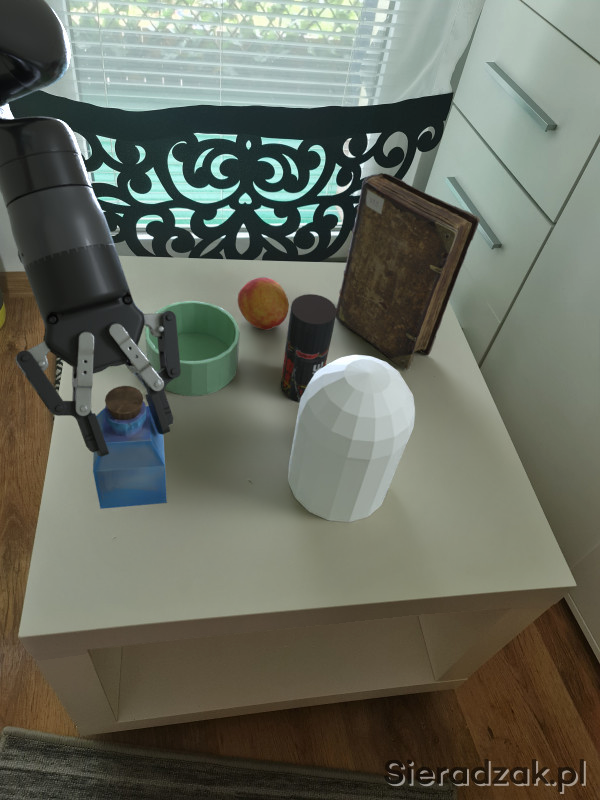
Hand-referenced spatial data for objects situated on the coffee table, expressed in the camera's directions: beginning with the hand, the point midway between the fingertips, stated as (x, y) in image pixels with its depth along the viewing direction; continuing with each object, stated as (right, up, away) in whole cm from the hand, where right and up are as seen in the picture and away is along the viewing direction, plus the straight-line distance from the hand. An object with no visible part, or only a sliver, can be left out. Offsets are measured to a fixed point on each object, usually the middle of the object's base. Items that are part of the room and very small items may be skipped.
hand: (134, 442), depth 54 cm
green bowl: (-1, +9, +37) cm, 38 cm away
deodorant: (+15, +5, +36) cm, 40 cm away
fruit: (+8, +16, +45) cm, 49 cm away
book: (+28, +14, +46) cm, 56 cm away
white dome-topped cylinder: (+20, -7, +26) cm, 34 cm away
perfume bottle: (-2, -4, +7) cm, 9 cm away
